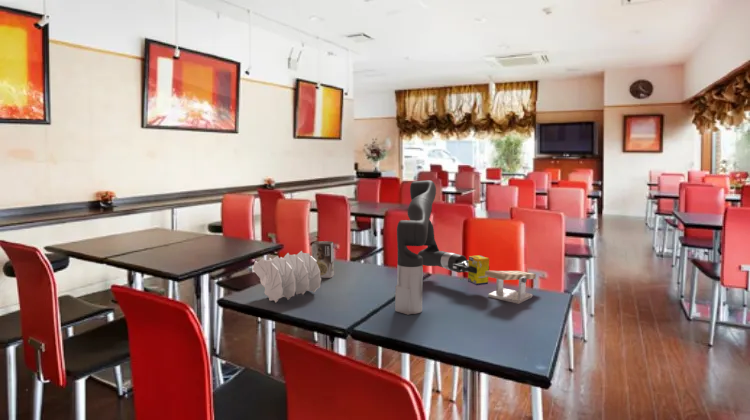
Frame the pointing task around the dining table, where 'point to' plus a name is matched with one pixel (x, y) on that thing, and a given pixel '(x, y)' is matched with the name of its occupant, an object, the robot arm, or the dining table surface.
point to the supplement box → (478, 270)
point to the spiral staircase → (288, 275)
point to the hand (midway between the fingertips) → (482, 269)
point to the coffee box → (324, 257)
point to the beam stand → (511, 292)
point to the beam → (509, 275)
